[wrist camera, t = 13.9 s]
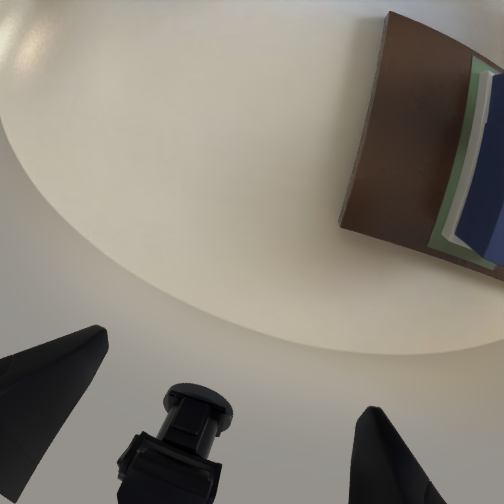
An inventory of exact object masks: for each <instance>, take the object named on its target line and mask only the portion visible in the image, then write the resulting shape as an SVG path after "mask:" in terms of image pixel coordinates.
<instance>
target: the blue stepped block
mask: <svg viewBox="0 0 504 504" xmlns="http://www.w3.org/2000/svg"><path fill="white" fill-rule="evenodd" d="M442 235H443V236H444V237H445V238H446V239H447V240H448V241H450V242H453V243H456V244H458V245H461V246H463V247H466V248H469V249H471V250H473V251H475V252H476V253H477V254H478V255H479V256H480V257H481V258H483V259H485V260H487V261H490V262H492V263H495V264H497V265H500V266H502V267H504V73H502V74H497V75H495V74H493V73H492V72H490V71H485V72H481V73H480V76H479V85H478V93H477V100H476V107H475V113H474V119H473V124H472V129H471V134H470V139H469V143H468V148H467V152H466V156H465V160H464V164H463V168H462V172H461V175H460V179H459V182H458V186H457V189H456V192H455V196H454V199H453V202H452V205H451V208H450V211H449V214H448V217H447V220H446V222H445V225H444V228H443V231H442Z"/></svg>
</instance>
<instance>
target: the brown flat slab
mask: <svg viewBox="0 0 504 504" xmlns="http://www.w3.org/2000/svg"><path fill="white" fill-rule="evenodd" d="M485 71H490V72H492V73H493V74H495V75H497V74H502V73H504V70H503V69H502V68H500V67H499V66H497V65H496V64H494V63H493V62H491V61H490V60H488V59H487V58H485V57H483V56H482V55H480V54H479V53H477V52H475V51H474V50H472V49H470V48H469V47H467V46H465V45H463V44H462V43H460V42H458V41H456V40H454V39H452V38H450V37H448V36H447V35H445V34H443V33H441V32H439V31H436V30H434V29H432V28H430V27H428V26H426V25H424V24H421V23H419V22H417V21H414V20H412V19H410V18H407V17H405V16H402V15H399V14H397V13H394V12H391V11H389V13H388V14H387V16H386V17H385V22H384V29H383V35H382V41H381V47H380V53H379V59H378V64H377V69H376V75H375V80H374V85H373V89H372V94H371V99H370V103H369V108H368V112H367V117H366V121H365V125H364V129H363V134H362V138H361V142H360V146H359V150H358V153H357V157H356V161H355V165H354V169H353V172H352V176H351V179H350V183H349V187H348V190H347V194H346V197H345V200H344V204H343V207H342V211H341V214H340V217H339V220H338V222H339V225H340V227H341V228H344V229H348V230H351V231H355V232H358V233H361V234H365V235H368V236H371V237H375V238H378V239H381V240H385V241H388V242H391V243H394V244H397V245H401V246H404V247H407V248H410V249H413V250H416V251H419V252H422V253H425V254H428V255H431V256H434V257H437V258H440V259H443V260H446V261H449V262H452V263H455V264H458V265H461V266H464V267H466V268H469V269H472V270H475V271H477V272H480V273H483V274H486V275H488V276H491V277H494V278H496V279H499V280H502V281H504V267H502V266H500V265H497V264H495V263H492V262H490V261H487V260H485V259H483V258H481V257H480V256H479V255H478V254H477V253H476V252H475V251H473V250H471V249H469V248H466V247H463V246H461V245H458V244H456V243H453V242H450V241H448V240H447V239H446V238H445V237H444V236H443V235H442V231H443V228H444V225H445V222H446V220H447V217H448V214H449V211H450V208H451V205H452V202H453V199H454V196H455V192H456V189H457V186H458V182H459V179H460V175H461V172H462V168H463V164H464V160H465V156H466V152H467V148H468V143H469V139H470V134H471V129H472V124H473V119H474V113H475V107H476V100H477V93H478V85H479V76H480V73H481V72H485Z"/></svg>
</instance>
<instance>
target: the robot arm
mask: <svg viewBox="0 0 504 504" xmlns="http://www.w3.org/2000/svg"><path fill="white" fill-rule="evenodd" d="M108 348H109V344H108V335H107V330H106V329H105V328H103V327H101V326H99V325H93V326H90V327H87V328H85V329H82V330H79V331H77V332H74V333H71V334H69V335H66V336H63V337H60V338H57V339H55V340H52V341H50V342H46V343H44V344H41V345H38V346H35V347H32V348H30V349H27V350H24V351H21V352H19V353H16V354H13V356H12V355H10V356H7V357H4V358H2V359H0V494H1V495H3V496H4V497H6V498H7V499H9V500H10V501H12V502H13V503H16V502H17V500H18V498H19V497H20V495H21V493H22V491H23V490H24V488H25V486H26V484H27V483H28V481H29V479H30V477H31V476H32V474H33V472H34V471H35V469H36V467H37V465H38V464H39V462H40V460H41V459H42V457H43V455H44V454H45V452H46V451H47V449H48V447H49V446H50V444H51V443H52V441H53V439H54V438H55V436H56V435H57V433H58V432H59V430H60V428H61V427H62V425H63V424H64V422H65V421H66V419H67V418H68V416H69V415H70V413H71V412H72V410H73V409H74V407H75V406H76V404H77V402H78V401H79V400H80V398H81V397H82V395H83V394H84V392H85V391H86V389H87V388H88V386H89V385H90V383H91V381H92V380H93V378H94V376H95V374H96V372H97V370H98V368H99V366H100V365H101V363H102V361H103V359H104V357H105V355H106V354H107V352H108ZM226 412H227V409H226V408H225V407H222V406H219V405H216V404H212V403H209V402H206V401H203V400H200V399H197V398H194V397H191V396H188V395H185V394H182V393H179V392H177V391H174V390H170V391H169V393H168V415H167V417H166V419H165V421H164V423H163V425H162V427H161V429H160V431H159V433H158V435H157V437H156V438H155V437H153V436H151V435H148V434H147V433H146V432H144V431H142V433H141V434H140V435H137V434H136V435H135V436H134V438H133V440H132V442H131V443H130V445H129V447H128V448H127V449H126V450H125V452H124V453H123V454H122V455H121V457H120V458H119V459H118V461H117V464H118V467H119V471H118V472H119V474H118V479H120V480H121V481H122V483H121V486H120V488H119V490H118V492H117V499H118V504H213V502H214V499H215V496H216V493H217V488H218V483H219V478H220V474H221V469H222V464H220V463H215V462H212V461H210V460H207V458H208V455H209V453H210V450H211V447H212V444H213V441H214V438H215V437H219V436H220V433H221V430H222V426H223V423H224V419H225V416H226ZM348 504H447V503H446V502H445V501H444V499H443V498H442V497H441V495H440V494H439V493H438V491H437V490H436V488H435V487H434V485H433V484H432V482H431V481H429V478H428V476H427V475H426V473H425V472H424V471H423V469H422V468H421V466H420V464H419V463H418V462H417V460H416V458H415V457H414V456H413V454H412V453H411V451H410V450H409V448H408V447H407V445H406V444H405V442H404V441H403V439H402V438H401V436H400V435H399V433H398V432H397V431H396V429H395V428H394V426H393V425H392V423H391V422H390V420H389V419H388V418H387V416H386V414H385V413H384V412H383V410H382V409H381V408H380V407H375V406H369V407H367V409H366V410H365V411H364V412H363V414H362V415H361V416H360V417H359V419H358V421H357V423H356V427H355V436H354V443H353V451H352V457H351V467H350V487H349V502H348Z"/></svg>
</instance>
